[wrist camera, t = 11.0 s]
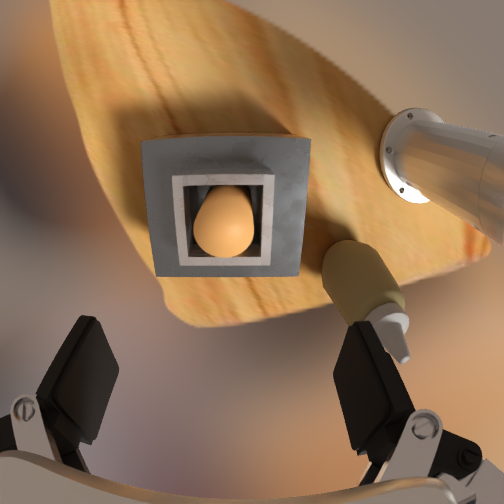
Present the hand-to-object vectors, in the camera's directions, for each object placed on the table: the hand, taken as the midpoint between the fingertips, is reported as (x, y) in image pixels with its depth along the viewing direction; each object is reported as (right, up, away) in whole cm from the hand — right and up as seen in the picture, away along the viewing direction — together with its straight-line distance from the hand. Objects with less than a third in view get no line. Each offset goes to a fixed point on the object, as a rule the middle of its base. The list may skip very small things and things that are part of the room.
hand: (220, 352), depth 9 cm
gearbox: (-2, +11, +21) cm, 24 cm away
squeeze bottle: (+13, +3, +26) cm, 29 cm away
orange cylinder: (-1, +9, +18) cm, 21 cm away
